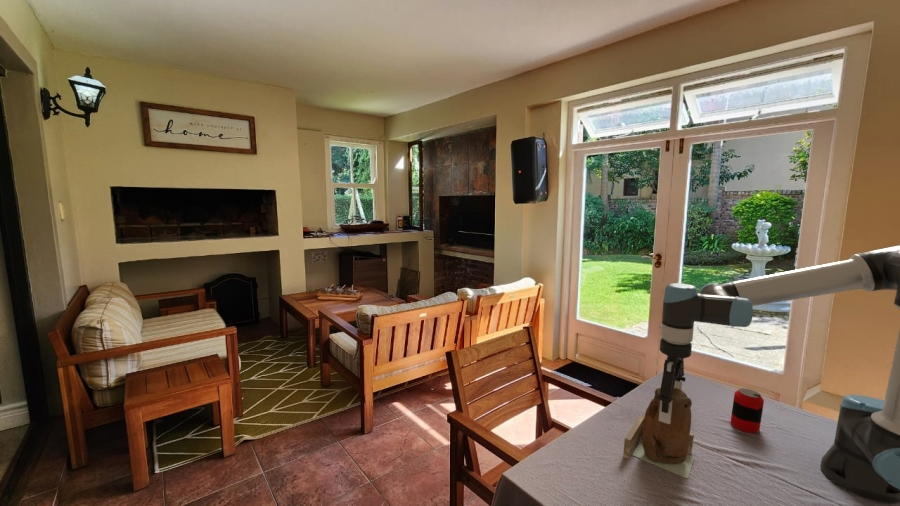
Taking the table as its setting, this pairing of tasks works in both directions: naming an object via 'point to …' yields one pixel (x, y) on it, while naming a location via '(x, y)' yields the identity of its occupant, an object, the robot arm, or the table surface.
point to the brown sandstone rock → (668, 430)
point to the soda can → (747, 410)
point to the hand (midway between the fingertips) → (669, 411)
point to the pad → (678, 468)
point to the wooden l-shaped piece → (637, 433)
